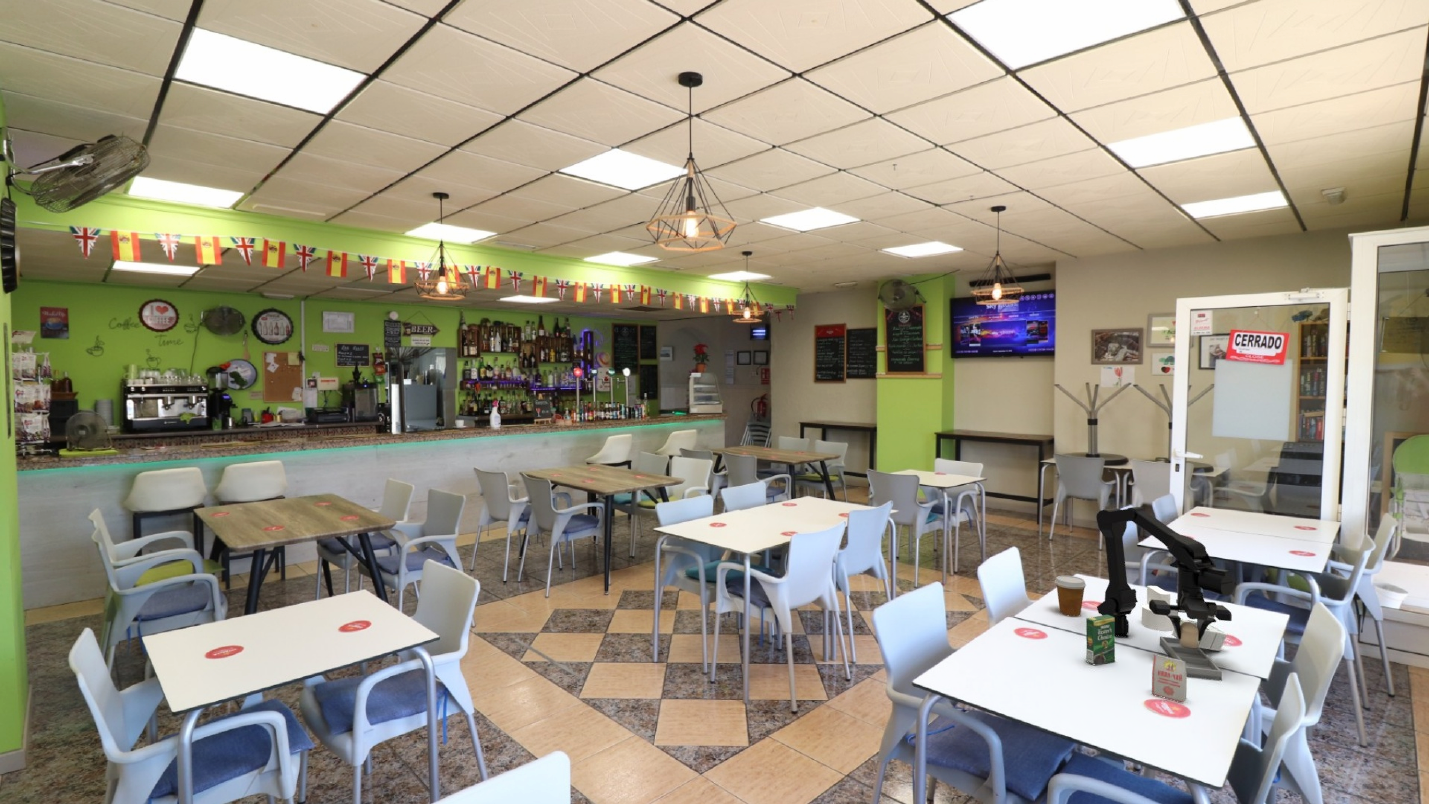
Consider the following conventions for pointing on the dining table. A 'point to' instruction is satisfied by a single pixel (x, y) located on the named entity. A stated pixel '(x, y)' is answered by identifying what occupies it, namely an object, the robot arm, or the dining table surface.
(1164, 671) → the tea bag
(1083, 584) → the disposable coffee cup
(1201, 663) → the grey divided tray
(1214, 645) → the syrup box
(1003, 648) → the dining table surface
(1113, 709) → the dining table surface
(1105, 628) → the coffee box
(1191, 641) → the beige domed cylinder
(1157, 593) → the base with upright slab
